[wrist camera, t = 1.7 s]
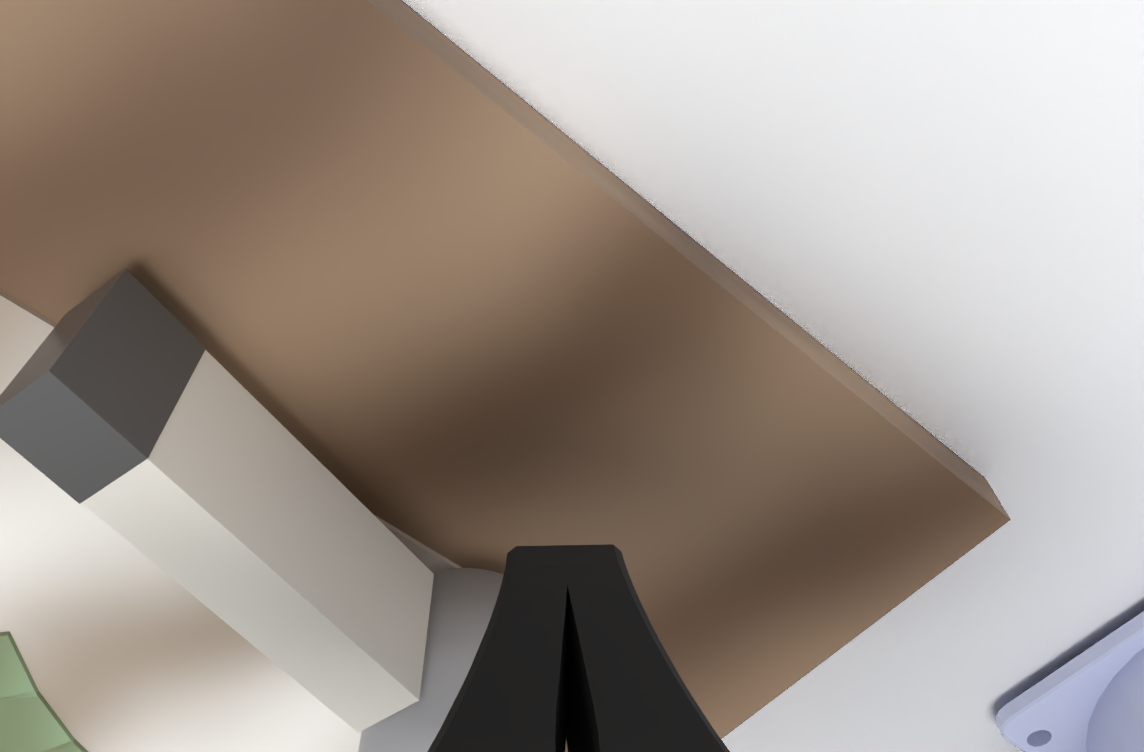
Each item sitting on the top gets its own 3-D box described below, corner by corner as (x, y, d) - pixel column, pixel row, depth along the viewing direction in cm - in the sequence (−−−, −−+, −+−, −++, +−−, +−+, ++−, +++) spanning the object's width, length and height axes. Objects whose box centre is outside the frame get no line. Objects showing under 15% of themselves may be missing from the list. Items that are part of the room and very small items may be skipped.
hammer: (587, 647, 20) (596, 794, 17) (451, 718, 21) (439, 868, 18) (181, 224, 15) (104, 332, 12) (27, 337, 16) (-76, 462, 13)
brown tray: (986, 479, 20) (1014, 526, 19) (428, 916, 26) (423, 972, 25) (107, -240, 13) (65, -239, 12) (-341, 573, 20) (-397, 626, 19)
